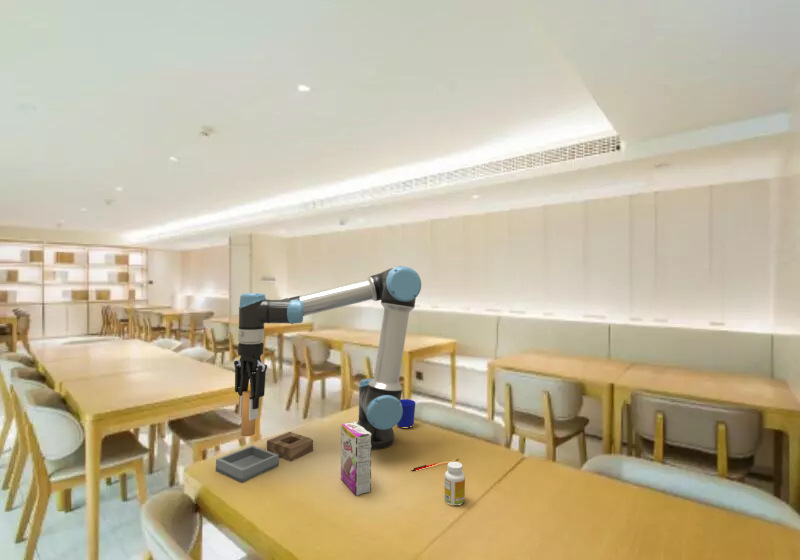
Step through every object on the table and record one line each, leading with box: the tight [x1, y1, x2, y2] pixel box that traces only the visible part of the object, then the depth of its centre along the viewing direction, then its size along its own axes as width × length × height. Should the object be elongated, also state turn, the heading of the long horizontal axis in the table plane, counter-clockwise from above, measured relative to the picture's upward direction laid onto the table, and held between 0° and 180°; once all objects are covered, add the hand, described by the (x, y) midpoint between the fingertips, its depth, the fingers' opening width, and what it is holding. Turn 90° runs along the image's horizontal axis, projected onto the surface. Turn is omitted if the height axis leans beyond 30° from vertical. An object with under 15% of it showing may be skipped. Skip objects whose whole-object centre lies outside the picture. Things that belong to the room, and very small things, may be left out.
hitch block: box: [266, 431, 314, 462], centre depth 133 cm, size 12×10×4 cm
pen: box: [410, 462, 438, 472], centre depth 125 cm, size 1×19×1 cm, turn 119°
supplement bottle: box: [443, 461, 466, 505], centre depth 104 cm, size 5×5×10 cm
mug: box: [397, 398, 416, 428], centre depth 162 cm, size 8×12×10 cm
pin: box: [240, 389, 256, 437], centre depth 121 cm, size 4×4×13 cm
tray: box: [215, 444, 280, 484], centre depth 120 cm, size 13×13×4 cm
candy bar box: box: [340, 421, 372, 497], centre depth 111 cm, size 11×5×16 cm, turn 31°
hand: (248, 417), depth 121 cm, fingers closed on pin, 4 cm apart
